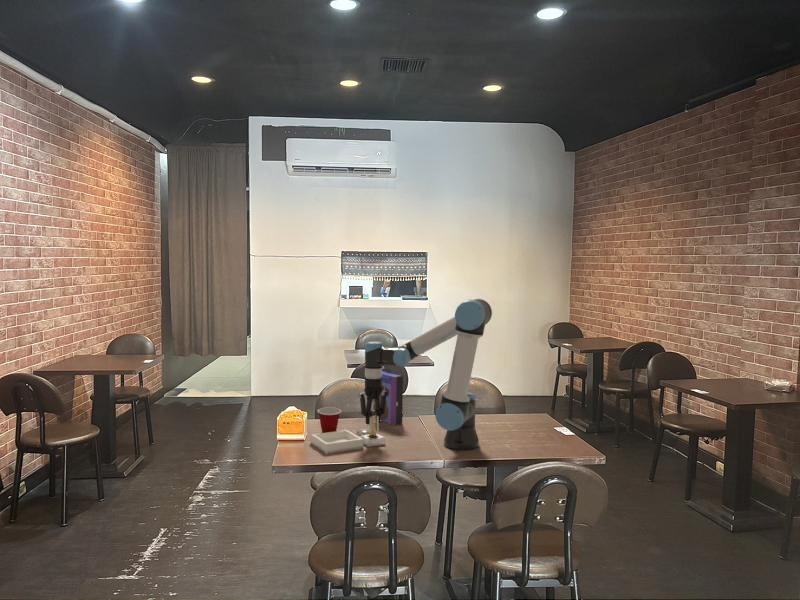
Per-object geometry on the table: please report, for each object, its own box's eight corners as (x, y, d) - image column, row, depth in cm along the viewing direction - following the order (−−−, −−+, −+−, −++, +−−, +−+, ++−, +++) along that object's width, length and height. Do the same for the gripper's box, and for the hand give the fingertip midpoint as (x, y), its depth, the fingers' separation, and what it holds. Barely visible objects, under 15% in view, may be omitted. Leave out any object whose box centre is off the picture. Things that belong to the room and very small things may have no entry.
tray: (363, 448, 261) (363, 439, 260) (326, 453, 252) (326, 444, 252) (346, 438, 275) (346, 429, 275) (310, 443, 267) (311, 434, 267)
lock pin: (378, 443, 268) (378, 411, 267) (371, 444, 266) (371, 411, 265) (374, 441, 271) (374, 409, 270) (367, 442, 269) (367, 410, 268)
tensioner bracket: (385, 444, 267) (385, 436, 267) (368, 446, 263) (368, 438, 263) (368, 435, 281) (368, 428, 281) (352, 437, 277) (352, 430, 277)
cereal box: (373, 418, 314) (373, 372, 313) (380, 417, 317) (380, 371, 316) (394, 425, 300) (395, 376, 299) (402, 424, 303) (402, 375, 302)
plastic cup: (323, 440, 272) (324, 413, 272) (313, 434, 281) (313, 408, 281) (345, 436, 278) (345, 410, 278) (334, 431, 287) (334, 406, 287)
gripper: (385, 374, 274) (384, 426, 275) (353, 377, 266) (352, 431, 267) (393, 377, 268) (392, 430, 269) (360, 380, 260) (360, 435, 261)
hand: (372, 430), depth 268 cm, fingers closed on lock pin, 3 cm apart
